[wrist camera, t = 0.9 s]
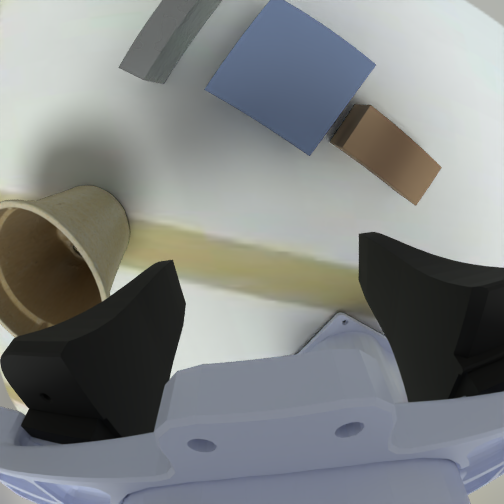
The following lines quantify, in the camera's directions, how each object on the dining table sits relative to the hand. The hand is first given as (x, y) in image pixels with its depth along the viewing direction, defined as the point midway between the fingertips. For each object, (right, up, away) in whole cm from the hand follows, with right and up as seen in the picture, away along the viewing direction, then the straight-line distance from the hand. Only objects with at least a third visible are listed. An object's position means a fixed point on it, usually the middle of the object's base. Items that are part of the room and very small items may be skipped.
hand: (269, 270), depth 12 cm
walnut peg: (+8, +7, +7) cm, 13 cm away
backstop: (-4, +14, +3) cm, 15 cm away
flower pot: (-12, +3, +9) cm, 15 cm away
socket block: (+1, +11, +5) cm, 12 cm away
